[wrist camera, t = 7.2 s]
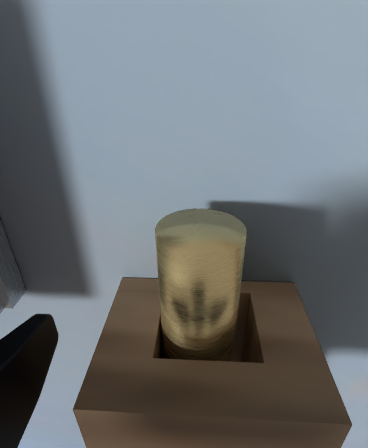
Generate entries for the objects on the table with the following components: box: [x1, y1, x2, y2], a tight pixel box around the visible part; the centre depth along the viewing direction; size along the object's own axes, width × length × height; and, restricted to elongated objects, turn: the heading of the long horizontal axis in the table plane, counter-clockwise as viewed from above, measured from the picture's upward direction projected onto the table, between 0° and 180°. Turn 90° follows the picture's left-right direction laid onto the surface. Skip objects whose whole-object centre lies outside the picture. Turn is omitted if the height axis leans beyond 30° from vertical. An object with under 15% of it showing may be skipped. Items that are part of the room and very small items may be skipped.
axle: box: [155, 209, 247, 362], centre depth 12 cm, size 10×3×3 cm, turn 1°
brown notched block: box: [73, 278, 352, 448], centre depth 13 cm, size 8×8×6 cm
